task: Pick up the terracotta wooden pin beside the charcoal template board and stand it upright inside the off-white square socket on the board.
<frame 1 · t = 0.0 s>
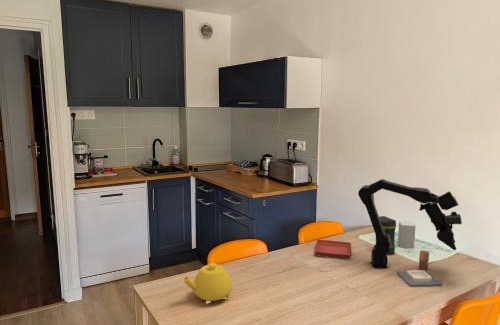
hand: (454, 246, 167), 15 cm above the table, tool tilted 35°, fingers open, 9 cm apart
plant saucer: (333, 253, 200), on the table
teapot: (207, 298, 152), on the table
coffee jar: (384, 252, 200), on the table
terracotta pin: (423, 268, 180), on the table
template board: (418, 279, 168), on the table
supplement box: (405, 245, 209), on the table
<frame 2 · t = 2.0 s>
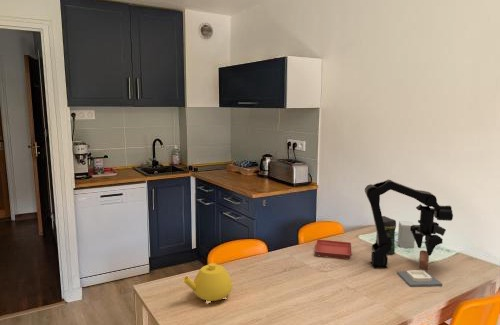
hand: (424, 251, 179), 8 cm above the table, tool pointing down, fingers open, 9 cm apart
nothing on the table moved.
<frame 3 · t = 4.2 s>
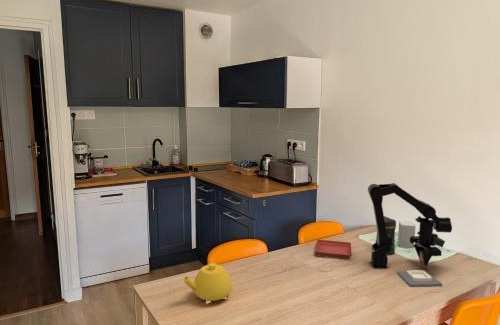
hand: (423, 263, 180), 3 cm above the table, tool pointing down, fingers closed on terracotta pin, 4 cm apart
terracotta pin: (423, 268, 180), on the table, touching gripper
everything else where it was.
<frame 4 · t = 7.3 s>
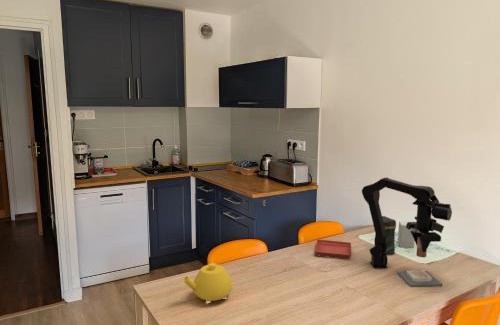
hand: (421, 250, 168), 13 cm above the table, tool pointing down, fingers closed on terracotta pin, 4 cm apart
terracotta pin: (421, 255, 168), point 10 cm above the table, touching gripper
everything else where it was.
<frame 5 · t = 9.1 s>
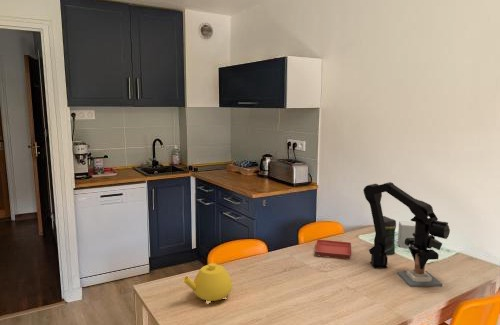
hand: (419, 266, 167), 6 cm above the table, tool pointing down, fingers closed on terracotta pin, 4 cm apart
terracotta pin: (419, 272, 168), point 3 cm above the table, touching gripper
everything else where it was.
when the fingers open (5 cm above the table, at t = 10.4 s): terracotta pin drops 1 cm, resting on template board.
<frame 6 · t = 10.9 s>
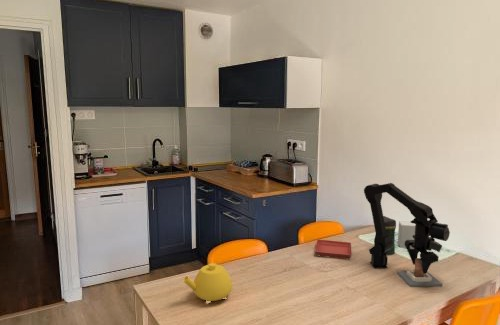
hand: (419, 268, 167), 5 cm above the table, tool pointing down, fingers open, 9 cm apart
terracotta pin: (418, 277, 168), point 1 cm above the table, touching template board
everything else where it was.
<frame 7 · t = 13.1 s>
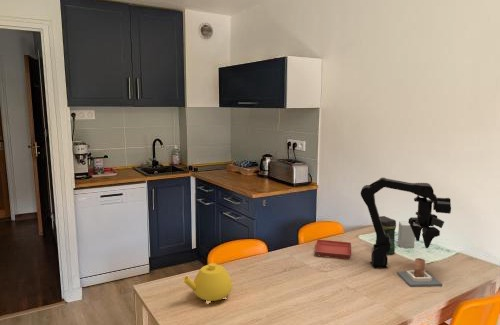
hand: (422, 244, 175), 13 cm above the table, tool pointing down, fingers open, 9 cm apart
nothing on the table moved.
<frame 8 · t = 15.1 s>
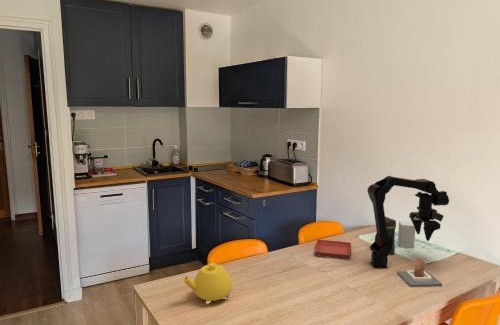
hand: (422, 237, 184), 13 cm above the table, tool pointing down, fingers open, 9 cm apart
nothing on the table moved.
at the end: terracotta pin 0.1 cm off-centre on the template board, point 1.0 cm above the template board's base; terracotta pin tilted 0°; the gripper is holding nothing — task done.
